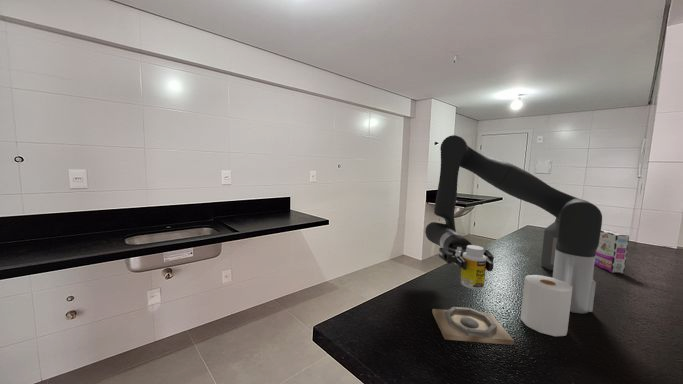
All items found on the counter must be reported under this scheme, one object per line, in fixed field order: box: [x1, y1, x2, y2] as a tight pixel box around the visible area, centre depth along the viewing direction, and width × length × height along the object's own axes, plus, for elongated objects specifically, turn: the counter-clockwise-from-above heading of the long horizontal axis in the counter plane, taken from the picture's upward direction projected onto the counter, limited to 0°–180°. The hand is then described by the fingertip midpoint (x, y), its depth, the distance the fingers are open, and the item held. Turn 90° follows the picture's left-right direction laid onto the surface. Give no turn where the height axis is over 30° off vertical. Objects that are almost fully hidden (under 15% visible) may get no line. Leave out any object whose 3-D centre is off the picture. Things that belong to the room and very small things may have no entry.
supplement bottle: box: [459, 244, 486, 290], centre depth 69 cm, size 6×6×10 cm
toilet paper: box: [520, 274, 573, 337], centre depth 72 cm, size 10×10×12 cm
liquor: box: [540, 217, 560, 272], centre depth 114 cm, size 9×9×30 cm
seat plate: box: [431, 306, 515, 346], centre depth 70 cm, size 16×12×2 cm
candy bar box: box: [594, 229, 630, 274], centre depth 117 cm, size 11×5×16 cm, turn 172°
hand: (477, 266), depth 67 cm, fingers closed on supplement bottle, 5 cm apart
